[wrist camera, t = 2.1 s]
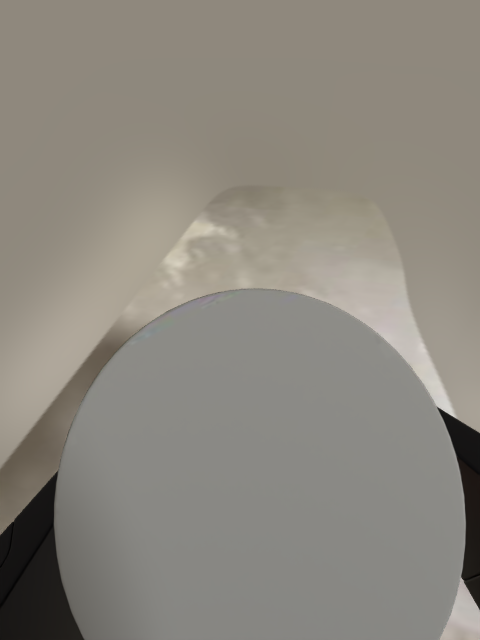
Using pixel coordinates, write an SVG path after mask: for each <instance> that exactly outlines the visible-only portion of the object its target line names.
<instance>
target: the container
mask: <svg viewBox="0 0 480 640" xmlns="http://www.w3.org/2000/svg"><path fill="white" fill-rule="evenodd" d="M54 529H55V541H56V552H57V559H58V564H59V570H60V575H61V580H62V584H63V587H64V590H65V593H66V596H67V599H68V602H69V606H70V609H71V612H72V614H73V616H74V619H75V621H76V623H77V625H78V627H79V630H80V632H81V634H82V636H83V638H84V640H440V637H441V635H442V633H443V631H444V628H445V626H446V624H447V622H448V619H449V617H450V615H451V612H452V608H453V605H454V602H455V599H456V595H457V591H458V587H459V583H460V578H461V574H462V569H463V559H464V550H465V531H466V519H465V503H464V493H463V487H462V481H461V475H460V470H459V466H458V462H457V458H456V454H455V451H454V448H453V445H452V441H451V438H450V436H449V433H448V431H447V428H446V426H445V423H444V421H443V419H442V417H441V415H440V413H439V411H438V409H437V406H436V404H435V402H434V400H433V399H432V397H431V396H430V394H429V392H428V391H427V389H426V387H425V386H424V384H423V383H422V382H421V380H420V379H419V377H418V376H417V375H416V373H415V372H414V371H413V369H412V368H411V366H410V365H409V364H408V363H407V362H406V361H405V360H404V359H403V357H402V356H401V355H400V354H399V353H398V352H397V351H396V350H395V349H394V348H393V347H392V346H391V345H390V344H389V343H388V342H387V341H386V340H385V339H384V338H383V337H381V336H380V335H379V334H378V333H376V332H375V331H374V330H373V329H371V328H370V327H369V326H367V325H366V324H364V323H363V322H362V321H360V320H358V319H357V318H355V317H353V316H352V315H350V314H349V313H347V312H345V311H343V310H341V309H339V308H337V307H335V306H333V305H331V304H328V303H326V302H323V301H320V300H318V299H315V298H312V297H309V296H305V295H302V294H298V293H293V292H287V291H281V290H274V289H239V290H230V291H224V292H218V293H214V294H210V295H206V296H203V297H200V298H197V299H194V300H191V301H189V302H186V303H184V304H182V305H179V306H177V307H175V308H173V309H171V310H169V311H167V312H165V313H164V314H162V315H160V316H159V317H157V318H156V319H154V320H153V321H151V322H150V323H148V324H147V325H145V326H144V327H143V328H142V329H140V330H139V331H138V332H137V333H135V334H134V335H133V336H132V337H131V338H130V339H129V340H128V341H126V342H125V343H124V344H123V345H122V346H121V347H120V348H119V349H118V350H117V352H116V353H115V354H114V355H113V356H112V357H111V358H110V360H109V361H108V362H107V363H106V364H105V366H104V367H103V368H102V370H101V371H100V372H99V374H98V375H97V377H96V378H95V379H94V381H93V383H92V384H91V386H90V387H89V389H88V390H87V392H86V394H85V396H84V398H83V400H82V402H81V404H80V406H79V408H78V410H77V413H76V415H75V417H74V419H73V422H72V424H71V427H70V429H69V432H68V435H67V438H66V442H65V445H64V448H63V452H62V456H61V461H60V465H59V470H58V476H57V482H56V491H55V502H54Z"/></svg>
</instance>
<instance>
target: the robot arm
mask: <svg viewBox="0 0 480 640" xmlns="http://www.w3.org/2000/svg"><path fill="white" fill-rule="evenodd" d="M437 409H438V411H439V413H440V415H441V417H442V419H443V421H444V423H445V426H446V428H447V431H448V433H449V436H450V438H451V441H452V445H453V448H454V451H455V454H456V458H457V462H458V466H459V470H460V475H461V481H462V487H463V493H464V503H465V519H466V531H465V550H464V559H463V569H462V574H461V578H462V579H463V580H464V583H465V585H466V587H467V588H468V590H469V592H470V594H471V595H472V597H473V599H474V601H475V603H476V604H477V606H478V608H479V610H480V433H479V432H477V431H476V430H474V429H472V428H471V427H469V426H467V425H466V424H464V423H462V422H461V421H459V420H458V419H456V418H454V417H453V416H451V415H449V414H448V413H446V412H444V411H443V410H441V409H440V408H438V407H437ZM57 476H58V471H57V472H56V474H55V475H54V476H53V477H52V478H51V479H50V480H49V481H48V483H47V484H46V485H45V486H44V487H43V488H42V489H41V490H40V492H39V493H38V494H37V495H36V496H35V497H34V498H33V499H32V500H31V502H30V503H29V504H28V505H27V506H26V507H25V508H24V509H23V511H22V512H21V513H20V514H19V515H18V516H17V517H16V518H15V520H14V522H12V523H11V524H10V525H9V526H8V527H7V528H6V530H5V531H4V532H3V533H2V534H1V535H0V640H84V638H83V636H82V634H81V632H80V630H79V627H78V625H77V623H76V621H75V619H74V616H73V614H72V612H71V609H70V606H69V602H68V599H67V596H66V593H65V590H64V587H63V584H62V580H61V575H60V570H59V564H58V559H57V552H56V541H55V529H54V502H55V491H56V482H57Z"/></svg>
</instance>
